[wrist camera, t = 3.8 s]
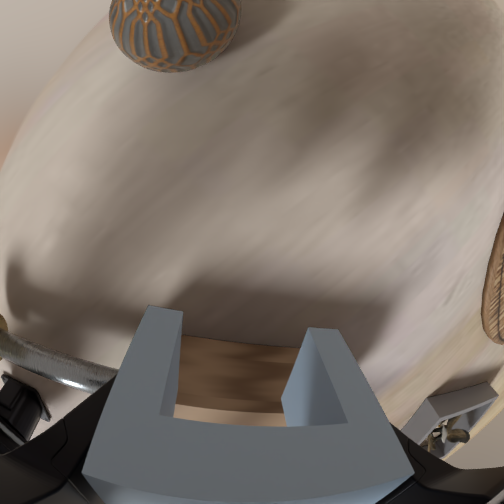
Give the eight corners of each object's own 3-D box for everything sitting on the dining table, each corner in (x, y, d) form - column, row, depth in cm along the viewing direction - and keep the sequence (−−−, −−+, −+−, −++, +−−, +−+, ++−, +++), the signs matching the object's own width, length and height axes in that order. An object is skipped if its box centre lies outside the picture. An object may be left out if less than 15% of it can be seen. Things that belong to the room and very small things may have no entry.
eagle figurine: (420, 447, 32) (462, 430, 30) (433, 465, 25) (479, 444, 23) (421, 411, 33) (465, 394, 32) (436, 427, 26) (484, 406, 25)
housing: (337, 349, 22) (366, 409, 16) (315, 396, 24) (334, 452, 18) (143, 327, 20) (118, 391, 13) (145, 379, 22) (128, 440, 15)
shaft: (191, 353, 19) (184, 404, 15) (187, 395, 21) (182, 442, 16) (-9, 298, 17) (-39, 325, 12) (3, 340, 18) (-21, 369, 13)
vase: (115, 51, 13) (49, -1, 5) (188, -14, 12) (168, -91, 4) (183, 104, 15) (143, 60, 7) (260, 34, 14) (285, -43, 6)
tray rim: (436, 443, 35) (444, 457, 31) (370, 463, 33) (377, 481, 29) (487, 381, 30) (498, 395, 26) (426, 397, 27) (439, 418, 23)
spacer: (307, 398, 11) (343, 523, 5) (149, 382, 10) (118, 518, 4) (337, 329, 10) (414, 472, 4) (148, 305, 9) (81, 472, 3)
